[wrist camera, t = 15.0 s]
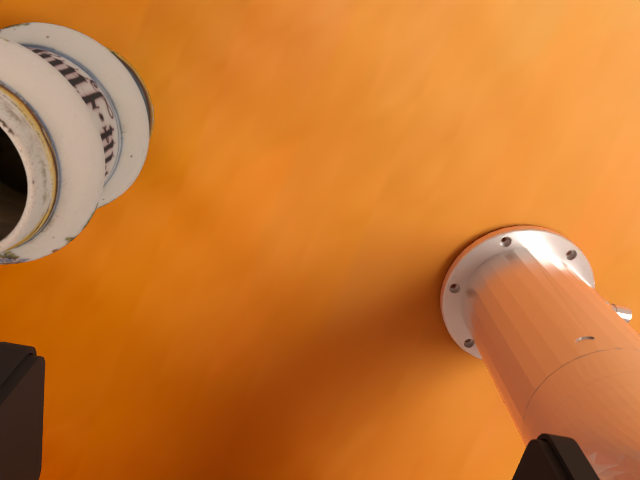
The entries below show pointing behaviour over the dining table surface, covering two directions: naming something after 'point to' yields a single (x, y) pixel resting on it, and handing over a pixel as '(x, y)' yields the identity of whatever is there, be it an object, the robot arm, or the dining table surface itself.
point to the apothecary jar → (64, 135)
